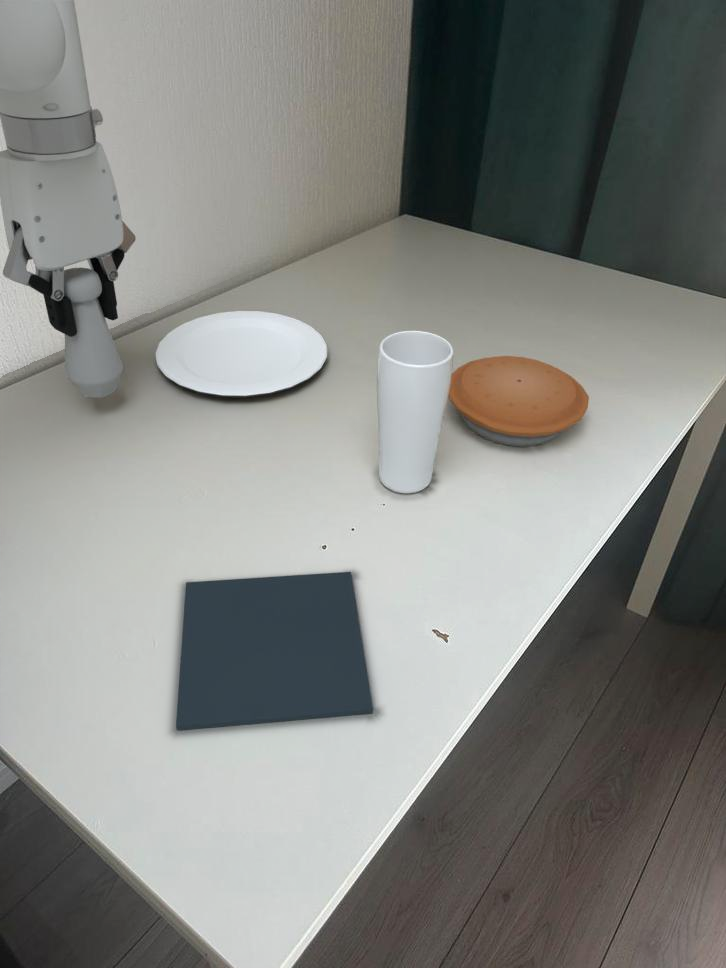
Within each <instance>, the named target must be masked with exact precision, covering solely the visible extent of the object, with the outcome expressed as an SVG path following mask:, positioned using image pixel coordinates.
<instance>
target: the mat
mask: <svg viewBox="0 0 726 968" xmlns="http://www.w3.org/2000/svg"><path fill="white" fill-rule="evenodd" d="M183 607H184V608H183V620H182V621H183V623H182V635H181V648H180V665H179V666H180V667H179V675H178V676H179V677H178V678H179V679H178V692H177V705H176V724H175V728H176V731H187V730H188V731H189V730H197V729H198V730H200V729H209V728H222V727H231V726H233V727H234V726H243V725H245V726H246V725H256V724H268V723H277V722H279V723H280V722H290V721H291V722H292V721H301V720H302V721H303V720H314V719H322V718H325V719H326V718H333V717H334V718H335V717H346V716H347V717H348V716H356V715H357V716H358V715H370V714H373V712H374V711H373V710H374V709H373V702H372V696H371V695H372V694H371V689H370V683H369V676H368V671H367V664H366V658H365V652H364V646H363V639H362V633H361V627H360V620H359V615H358V614H359V613H358V608H357V601H356V596H355V588H354V584H353V577H352V572H351V571H342V572H327V573H312V574H310V573H309V574H295V575H279V576H263V577H247V578H237V579H236V578H233V579H218V580H217V579H215V580H202V581H188V582H187V581H186V582H185V593H184V605H183Z"/></svg>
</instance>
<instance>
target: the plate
mask: <svg viewBox="0 0 726 968" xmlns="http://www.w3.org/2000/svg"><path fill="white" fill-rule="evenodd" d="M327 359H328V345H327V343H326V341H325V340H324V337H323V335H322V334H321V333H319V332H318V331H317V330H316V329H315V328H313V326H311V325H309V324H307V323H305V322H303V321H301V320H299V319H297V318H294V317H290V316H287V315H283V314H280V313H274V312H268V311H260V310H259V311H258V310H253V311H252V310H234V311H224V312H217V313H213V314H209V315H204V316H199V317H197V318H194V319H192V320H189V321H186V322H184V323H181V324H179V326H177V327H176V328H174V329H172V330H171V331H169V332H168V333H167V334H166V335H165V336H164V337H163V338H162V339H161V340H160V342H158V345H157V348H156V351H155V360H156V365H157V368H158V369H159V371H160V372H161V373H162V375H164V377H165V378H167V379H168V380H169V381H171V382H173V383H174V384H176V385H177V386H179V387H181V388H184V389H187V390H189V391H193V392H195V393H198V394H202V395H208V396H209V395H210V396H213V397H214V396H215V397H220V398H251V397H260V396H268V395H273V394H276V393H279V392H283V391H287V390H290V389H293V388H295V387H297V386H299V385H301V384H303V383H305V382H308V381H309V380H310V379H311V378H312V377H314V376H315V375H316V374H317V373H318V372H320V371H321V370H322V368H323V367H324V364H325V363H326V361H327Z"/></svg>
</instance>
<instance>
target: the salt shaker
mask: <svg viewBox="0 0 726 968" xmlns="http://www.w3.org/2000/svg"><path fill="white" fill-rule="evenodd" d="M101 292H102V285H101V281H100V278H99V276H98V274H97V273H96V272H95V271H93V270H91V268H89V267H88V268H87V267H71V268H66V269H64V296H66V297H68V298H70V300H71V303H72V308H73V313H74V318H75V323H76V328H77V333H76V335H75V336H72V337H70V336H68V335H66V334H64V371H65V373H66V376H67V378H68V381H69V382H70V383H71V384H72V385H73V386H74V388H76V389H77V390H78V391H79V392H80V394H82V396H83V397H85V398H104V397H107V396H109V395H111V394H112V393H115V392H117V389H118V385H119V381H120V378H121V376H122V374H123V371H124V365H123V363H122V360H121V358H120V355H119V353H118V349H117V347H116V344H115V342H114V339H113V337H112V333H111V331H110V328H109V325H108V322H107V320H106V318H105V317H104V314H103V311H102V309H101V306H100V303H99V300H98V298H97V297H99V295H100V294H101Z"/></svg>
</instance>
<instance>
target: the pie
mask: <svg viewBox="0 0 726 968" xmlns="http://www.w3.org/2000/svg"><path fill="white" fill-rule="evenodd" d="M589 399H590V396H589V394H588V393H587V391H586V390H585V388H584V386H582V385H581V384H580V383H579V382H578V381H577V380H576V379H575V378H574V377H573V376H572V375H569V374H568V373H566V372H565V371H563V370H561V369H560V368H557V367H555V366H553V365H551V364H549V363H546V362H544V361H541V360H538V359H533V358H529V357H524V356H513V355H501V356H490V357H482V358H479V359H474V360H470V361H468V362H467V363H465V364H463V365H460V366H459V367H457V368H456V369H455V370H454V371H452V377H451V385H450V391H449V396H448V400H450V402H451V403H452V404H453V405H454V406H455V408H456V410H458V413H459V414H460V416H461V418H462V420H463V421H464V423H465V424H466V425H467V426H468V427H469V430H471V431H473V432H474V433H476V435H478V436H480V437H481V438H482V439H483V438H484V439H486V440H488V441H490V442H493V443H496V444H499V445H504V446H507V447H508V446H510V447H521V448H524V447H526V448H527V447H534V446H539V445H543V444H546V443H549V442H551V441H552V440H554V439H555V438H557V437H558V436H559V435H562V433H563V432H564V431H566V430H567V429H569V428H570V427H572V426H573V425H575V424H576V423H578V422H580V421H581V420H582V419H583V418H584V416H585V415H586V412H587V410H588V407H589Z"/></svg>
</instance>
